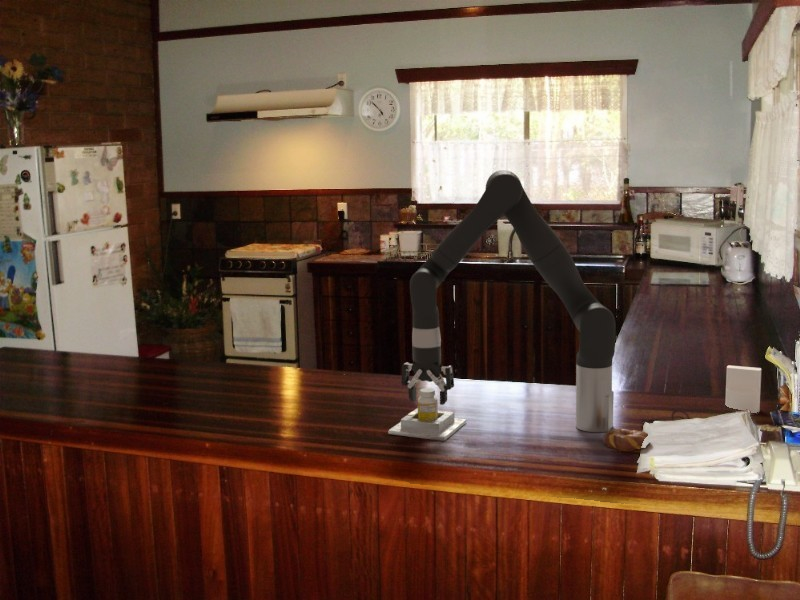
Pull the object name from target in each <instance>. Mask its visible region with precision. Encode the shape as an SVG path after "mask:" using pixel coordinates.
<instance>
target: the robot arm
mask: <svg viewBox="0 0 800 600" xmlns="http://www.w3.org/2000/svg"><path fill="white" fill-rule="evenodd" d="M503 215H504V217H505V218H506V220H507V221H508V222H509V224H510V225H511V227H513V230H514V232H515V234H516V236H517V238H518V240H519V242H520V244H521V246H522V248H523V249H524V251H525V254H526V255H527V257H528V259H529V260H530V262H531V264H532V265H533V266H534V267H535V270H537V271H538V273H539V274H540V276H541V277H542V278H543V280H544V281H545V282H546V284H547V285H549V287H550V288H551V289H552V291H554V292H555V293H556V295H557V296H558V297H559V299H560V300H561V301H562V303H563V305H564V306H565V309H566V310H567V312H568V313H569V315H570V318H571V320H572V321H573V324H574V326H575V328H576V329H577V331H579V349H578V352H577V353H576V365H575V367H576V369H575V370H576V371H575V373H576V375H575V376H576V377H575V379H576V380H575V381H576V382H575V387H576V389H575V428H577V429H578V430H580V431H582V432H588V433H589V432H591V433H603V432H605V433H607V432H609V431H610V430H612V427H614V397H615V395H614V391H613V390H612V389H613V358H614V356H615V352H616V351H615V349H616V331H617V330H616V328H617V327H616V318H615V316H614V314H613V312H612V311H611V310H610V309H609V308H607V307H606V306H605V305H603V304H601V302H600V301H599V300H598V299H597V298H596V297H595V296H594V295H593V293H592V291H591V290H590V289H589V288H588V287H587V286H586V284H585V283H584V281H583V279H582V277H581V275H580V272H579V269H578V267H577V265H576V263H575V261H574V259H573V257H572V255H571V254H570V252H569V250H568V249H567V248H566V246H565V244H564V243H563V242H562V240H561V239H560V238H559V236H558V235H557V234H556V232H555V231H554V230H553V228H552V227H551V226H550V225H549V224H548V222H547V221H546V220H545V219H544V218H543V216H541V214H539V212H538V210H537V209H536V208H535V206H534V205H533V203H532V202H531V200H530V198H529V196H528V195H527V192H526V191H525V189H524V187H523V184H522V183H521V180H520V178H519V177H518V176H517V174H516V173H514V172H512V171H510V170H505V169H503V170H502V169H501V170H496V171H495V172H493V173H492V174H490V175H489V177H488V179H487V180H486V183H485V190H484V191H483V194H482V195H481V197H480V198H479V200H478V202H477V203H476V204H475V206H474V207H473V208H472V210H470V212H469V213H468V214H467V215H466V216H465V217H464V218H463V219H462V220H461V221H460V222H459V223H458V224H456V226H455V227H454V228H452V230H451V231H450V232H449V233H448V234H447V235H446V236H445V237H444V238H443V240H442V241H440V243H439V244H438V245H437V247H436V248H435V249H434V250H433V252H432V253H431V255H430V257H428V259H426V260H425V262H424V263H423V264H421V266H420V268H418V269H417V271H415V272H414V273H413V275H412V276H411V278H410V280H409V293H410V300H411V306H412V308H411V309H412V332H411V335H412V336H411V339H412V340H411V342H412V345H411V346H412V363H410V362H409V361H407V362H404V363H403V364H402V365H401V385H402V386H405V387H407V388H408V400H410V402H411V403H413V402H416V401H417V386H416V384H418V382H419V381H420V382H428V383H432V382H433V383H434V384H435V385H436V386H437V387H438V389H439V390H440V391H439V404H440V406H444V405H445V404H446V402H447V401H448V391H450V390H452V388H453V389H454V387H455V380H454V379H455V378H454V368H453V366H452V365H447V366H443V364H442V347H441V343H442V339H441V330H440V313H439V308H438V306H437V290H438V287H439V286H440V285H441V284H442V282H443V281H444V280H445V279H446V277H447V276H448V275H449V274H450V272H451V271H453V270H454V269H455V268H456V267H457V266H458V264H460V263H461V261H462V260H463V259H464V258H465V256H466V255H467V254H468V253H469V252H470V251H471V249H473V247H474V245H476V243H477V242H478V241H479V239H481V237H482V236H483V235H484V234H485V232H487V231H488V229H489V228H491V226H493V224H495V222H496V221H498V220H499V219H500V218H501V217H502V216H503ZM410 371H413V373H414V375H413V376H412V378H411V380H410ZM442 372H443V375H445V378H444V377H443V376H442V374H441V373H442Z"/></svg>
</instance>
